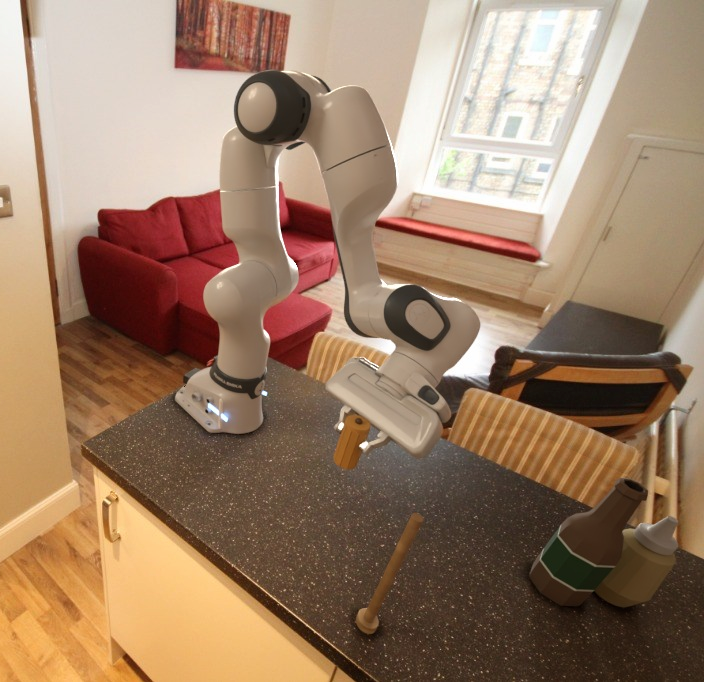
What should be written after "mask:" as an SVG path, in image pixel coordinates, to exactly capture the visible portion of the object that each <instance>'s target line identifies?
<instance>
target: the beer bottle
mask: <svg viewBox="0 0 704 682" xmlns="http://www.w3.org/2000/svg"><path fill="white" fill-rule="evenodd" d="M648 495H649V490H648V489H647V488H646V486H644V485H643V484H641V483H640V482H638V481H636V480H633V479H631V478H628V477H619V478H617V479H616V480H614V485H613V487H612V488H611V489H610V490H609V491H608V493H607V494H605V496H604V497H603V498H602V499H601V500H600V501H599V502H598V504H597V505H596V506H594V507H593V508H592V509H590V510H589V511H586V512H578V513H574V514H572V515H570V516H568V517H567V518H565V519H564V521H563V522H562V523H561V524H560V525H559V526H558V528H557V530H556V531H555V532H554V533H553V535H552V537H550V539H549V540H548V542H547V543H546V544H545V546H544V547H543V549H542V550H541V551H540V553H539V554H538V556H537V557H536V558H535V560H534V562H533V563H532V565H531V569H530V571H529V575H528V577H529V579H530V581H531V582H532V583H533V585H534V586H535V588H536V590H537V591H538V592H539V593H540V594H541V595H542V596H544V597H545V598H547V599H549V600H550V601H552V602H554V603H555V604H557V605H558V606H561V607H580V606H581V605H582V604H583V603H584V602H585V601H586V600H587V599H588V598H589V597H590V596H591V595H592V593H593V592H594V590H595V589H596V588H597V587H598V585H599V584H600V583H601V582H602V581H603V580H604V579H605V578H606V576H607V575H608V574H609V573H610V572H611V571H612V570H613V568H614V567H615V566H616V565H617V563H618V562H619V560H620V559H621V556H622V550H623V542H624V536H623V532H622V531H623V530H624V528H625V526H626V525H627V523H629V521H630V519H631V518H632V516H633V515H634V513H635V512H636V511H637V509H638V507H639V506H640V505H641V503H642V501H643V502H644V501H645V502H646V501H647V499H648Z"/></svg>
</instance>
